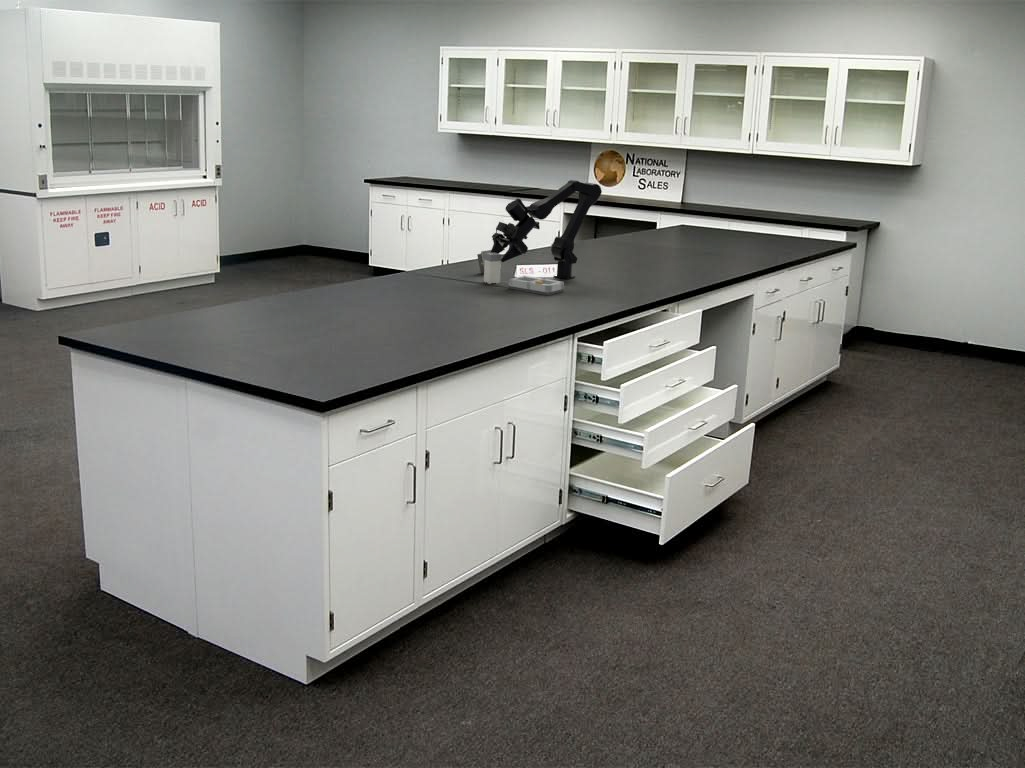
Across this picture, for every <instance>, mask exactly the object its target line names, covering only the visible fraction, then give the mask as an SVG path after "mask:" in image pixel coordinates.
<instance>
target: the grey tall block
mask: <svg viewBox="0 0 1025 768" xmlns="http://www.w3.org/2000/svg"><path fill="white" fill-rule="evenodd" d="M501 259H502V254H500V253H499V254H498V253H485V263H484V273H483V282H484V283H486V282H487V283H486V284H488V285H492V284H491V283H496V284H500V283H501V272H500V270H501V271H502V269H501V268H502V267H501V266H502V264H501V263H502V261H501Z"/></svg>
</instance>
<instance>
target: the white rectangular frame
mask: <svg viewBox="0 0 1025 768" xmlns="http://www.w3.org/2000/svg"><path fill="white" fill-rule="evenodd" d="M509 288H510V290H514V289H515V290H516V291H520V292H526V293H533V294H537V295H539V294H540V295H542V296H543V295H545V296H551V295H555V293H556V294H558V293H562V292H565V291H564V289H565V282H564V281H559V280H554V279H548V278H547V279H546V278H541V277H535V276H529V275H521V276H517V277H513V278H509V279H508V289H509ZM515 290H514V291H515Z"/></svg>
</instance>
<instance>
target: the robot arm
mask: <svg viewBox="0 0 1025 768" xmlns="http://www.w3.org/2000/svg"><path fill="white" fill-rule="evenodd" d="M602 192H603V191H602V187H601V185H599V184H598V183H595V182H580V181H578V180H575V179H570V180H567V183H565V184H564V185H562V186H561V187H560V188H558V189H556V190H555V191H554V192H552V193H551V194H550V195H548V196H547V197H545V198H543V199H539V200H537V201H534V202H532V203H530V205H527V206H526V205H525V204H524V203H523V201H522V199H521V198H515V200H512V201H511V202H509V203H508V204H507V205H505V208H504V209H505V211H506V212H507V213H508V215H509V216H510V217H511V219H512V220H513V221H515V222H517V223H516V225H515V224H514V223H512V222H509V223H505V222H503V221H502V222H501V221H499V222H498V224H497V226H496V228H495V230H496V231H499V232H494V233H493V234H492V236H491V238H492V241H493V244H492V248H491V249H490V250H491V252H490V253H498V254H500V253H502V252H503V251H505V250H506V248H508V249H507V251H506V252H505V253H504V255H503V256H501V263H505V262H507V261H509V260H511V259H514V258H516V257H517V258H518V257H519V256H523V255H526V254H527V253H528V251H529V247H528V246H527V245H526V243H525V242H524V241H523V240H527V239H528V235H529V233H530V232H531V231H532V230H533V229H536V230H540V222H539V221H536V220H535V219H537V220H544V219H547V217H548V216H549V215H551V213H552V211H553V209H554V208H555V207H557V206H558V205H560V203H562V202H564V201H565V200H566V199H568V198H569V197H570V196H572V195H573V194H575V193H578V203H577V204H576V206H575V209H574V211H573V212H572V215H571V217H570V218H569V221H568V223H567V224H566V225H567V226H566V227H565V229H564V231H563V234H562V235H561V236H555V238H554V239H553V240H554V241H553V242H552V244H551V245H550V246H551V249H550V251H551V254H552V256H553V260H554V261H555V262H556V261H557V266H556V267H557V268H556V275H557V276H555V275H553V278H558V279H563V280H568V279H573V278H576V275H573V265H574V264H577V261H578V257H577V256H576V255H575V253H574V252H573V251H574V249H575V238H576V237H577V234H578V233H579V231H580V228H581V226H582V225H583V223H584V220H585V218H586V217H587V213H588V211H589V210H590V208H591V207H592V206H593V205H594V204H596V203H597V201H598V200H599V198H601V196H602ZM500 232H501V233H500Z"/></svg>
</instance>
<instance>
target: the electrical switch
mask: <svg viewBox="0 0 1025 768" xmlns="http://www.w3.org/2000/svg"><path fill="white" fill-rule="evenodd" d="M491 250H492V249H489V250H482V251H481V252H480V253H478V254H477V260H478V261H477V262H478V265H479V266H478V267H479V272H480V274H484V263H485V253H490V252H491ZM501 271H502V269H501V270H500V273H501Z"/></svg>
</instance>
